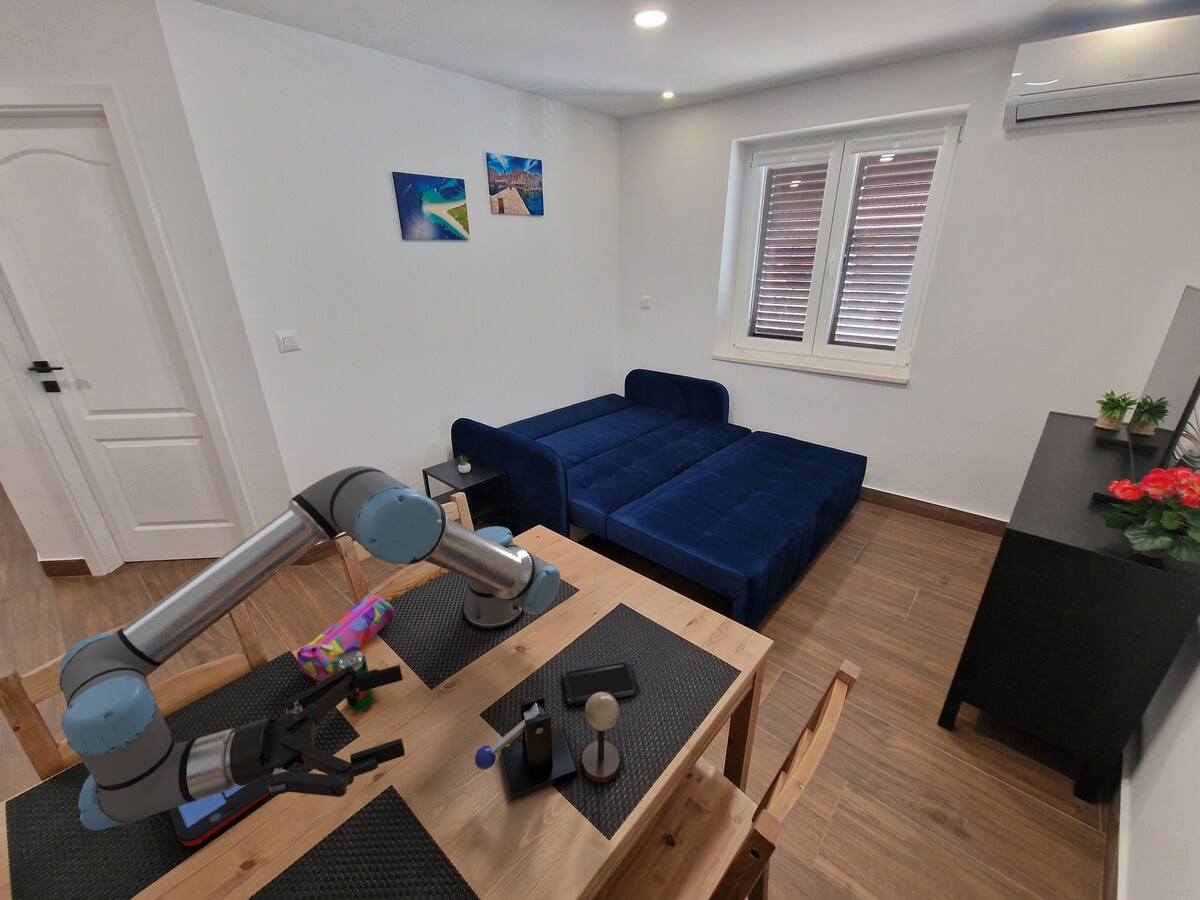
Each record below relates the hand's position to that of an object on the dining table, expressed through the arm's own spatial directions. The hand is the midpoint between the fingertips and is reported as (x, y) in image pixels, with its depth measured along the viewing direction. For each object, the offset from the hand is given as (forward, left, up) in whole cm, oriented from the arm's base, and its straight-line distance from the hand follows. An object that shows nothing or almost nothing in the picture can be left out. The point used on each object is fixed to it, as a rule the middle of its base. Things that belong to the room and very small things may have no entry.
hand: (402, 706), depth 74 cm
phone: (-11, +37, -24) cm, 46 cm away
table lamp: (+5, +31, -24) cm, 40 cm away
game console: (-14, -33, -24) cm, 43 cm away
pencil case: (-42, -14, -24) cm, 50 cm away
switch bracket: (+1, +20, -24) cm, 31 cm away
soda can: (-25, -11, -24) cm, 36 cm away
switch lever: (+1, +17, -15) cm, 23 cm away
